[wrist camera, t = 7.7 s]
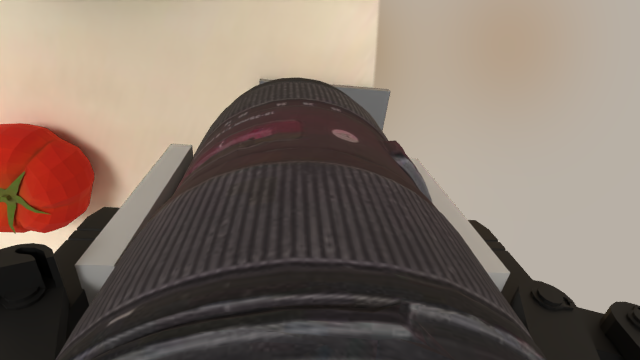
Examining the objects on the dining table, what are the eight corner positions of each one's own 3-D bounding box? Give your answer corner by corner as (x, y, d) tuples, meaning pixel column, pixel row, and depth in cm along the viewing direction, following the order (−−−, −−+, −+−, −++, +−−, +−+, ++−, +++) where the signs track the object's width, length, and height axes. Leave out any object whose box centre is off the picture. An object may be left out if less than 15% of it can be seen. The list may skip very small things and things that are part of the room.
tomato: (-35, 147, 34) (-111, 186, 27) (47, 94, 32) (-13, 122, 25) (54, 220, 39) (9, 267, 32) (129, 178, 37) (97, 218, 31)
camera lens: (233, 34, 14) (-310, 408, 1) (398, 96, 16) (857, 500, 3) (196, 190, 18) (-58, 730, 5) (337, 226, 20) (437, 681, 7)
